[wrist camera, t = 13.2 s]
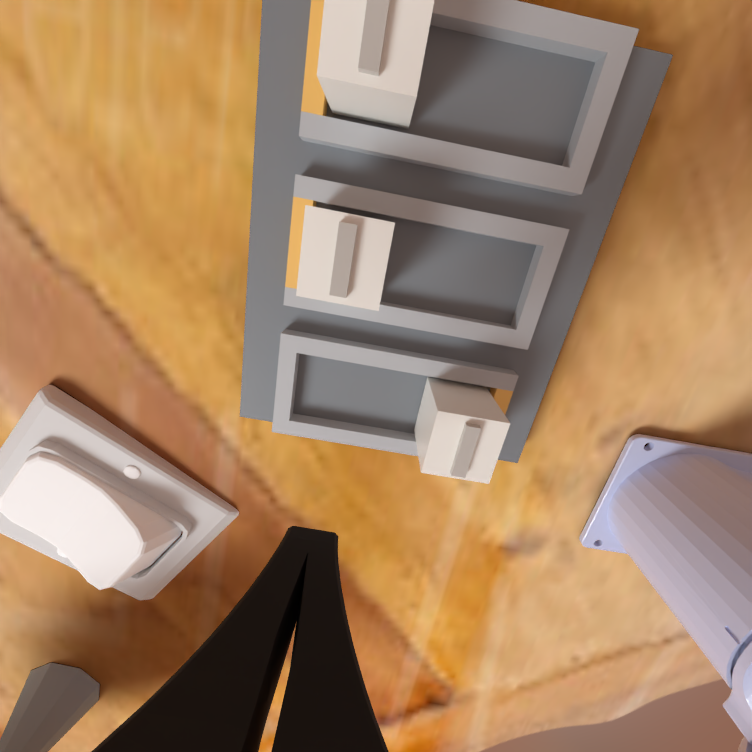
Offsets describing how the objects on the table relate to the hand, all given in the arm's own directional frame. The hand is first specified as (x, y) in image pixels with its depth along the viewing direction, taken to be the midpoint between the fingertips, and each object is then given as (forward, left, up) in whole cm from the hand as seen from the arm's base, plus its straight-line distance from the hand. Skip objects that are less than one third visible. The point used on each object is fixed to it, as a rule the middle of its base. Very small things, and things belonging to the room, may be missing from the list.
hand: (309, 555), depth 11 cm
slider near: (+1, -14, -9) cm, 17 cm away
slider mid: (+1, -8, -9) cm, 12 cm away
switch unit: (-2, -8, -10) cm, 13 cm away
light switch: (+14, +10, -11) cm, 20 cm away
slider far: (-5, -1, -9) cm, 11 cm away
